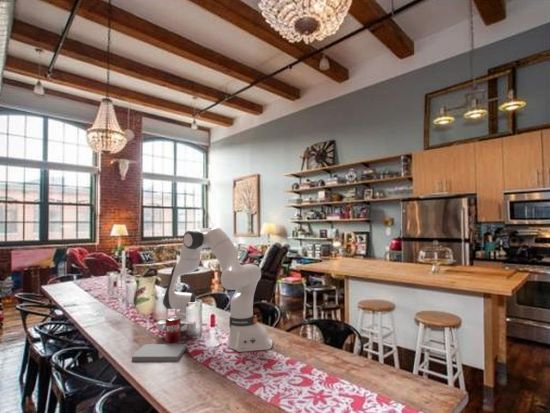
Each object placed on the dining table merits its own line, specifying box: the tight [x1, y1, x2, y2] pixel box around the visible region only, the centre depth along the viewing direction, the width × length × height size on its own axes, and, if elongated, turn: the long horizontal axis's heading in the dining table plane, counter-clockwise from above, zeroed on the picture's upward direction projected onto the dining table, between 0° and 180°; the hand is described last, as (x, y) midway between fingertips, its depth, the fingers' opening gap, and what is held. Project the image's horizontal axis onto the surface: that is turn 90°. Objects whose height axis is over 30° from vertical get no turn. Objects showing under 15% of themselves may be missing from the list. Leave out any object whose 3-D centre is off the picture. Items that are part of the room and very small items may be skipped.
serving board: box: [131, 343, 187, 362], centre depth 148 cm, size 20×14×2 cm
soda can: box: [164, 315, 181, 344], centre depth 164 cm, size 7×7×12 cm
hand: (172, 329), depth 163 cm, fingers closed on soda can, 7 cm apart
